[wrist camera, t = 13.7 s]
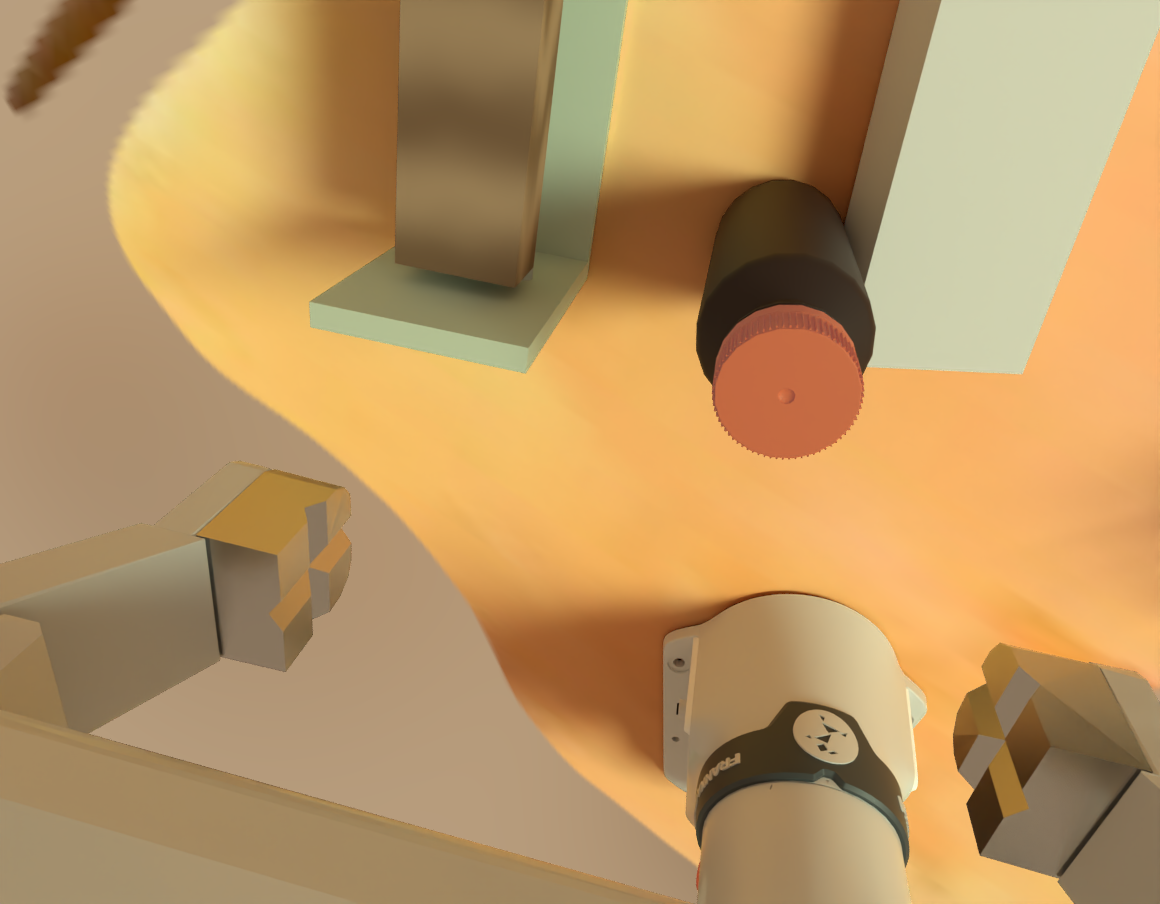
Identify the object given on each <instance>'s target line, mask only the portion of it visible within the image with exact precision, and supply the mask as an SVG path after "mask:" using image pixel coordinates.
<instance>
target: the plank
mask: <svg viewBox="0 0 1160 904" xmlns="http://www.w3.org/2000/svg"><path fill="white" fill-rule="evenodd" d="M562 9H563V0H400V39H399V87H398V134H397V182H396V229H395V263H396V264H401V265H406V266H410V267H415V268H420V269H425V270H430V271H435V272H440V273H444V274H449V275H454V276H459V277H464V278H469V279H473V280H478V281H483V282H488V283H493V284H498V285H503V286H507V287H512V288H515V287H516V286H517V285H518V284H519V283H520V282H521V281H522V280H523V278H524V277H525V276H526V275H527V274H528V273H529V272H530V271H531V269H532V268H533V266H534V257H535V248H536V239H537V231H538V222H539V213H540V204H541V195H542V186H543V177H544V168H545V160H546V151H547V142H548V133H549V124H550V115H551V106H552V98H553V89H554V80H555V71H556V62H557V53H558V44H559V35H560V27H561V18H562Z"/></svg>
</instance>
